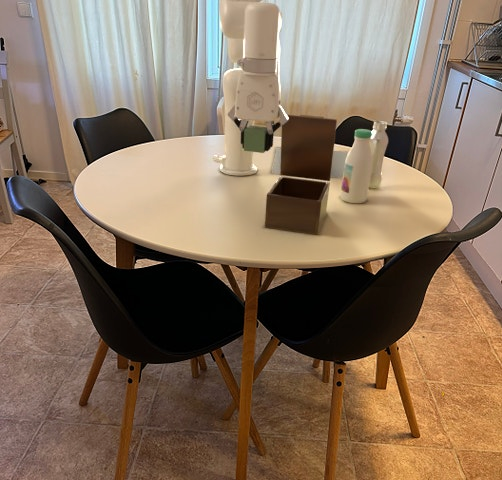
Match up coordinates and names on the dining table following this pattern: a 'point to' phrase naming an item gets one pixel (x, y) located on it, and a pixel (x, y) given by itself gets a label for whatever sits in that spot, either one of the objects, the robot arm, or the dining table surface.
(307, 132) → the tea box lid
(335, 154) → the architectural model
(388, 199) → the dining table surface
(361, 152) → the milk bottle
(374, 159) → the plastic bottle
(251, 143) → the green cube
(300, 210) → the tea box
